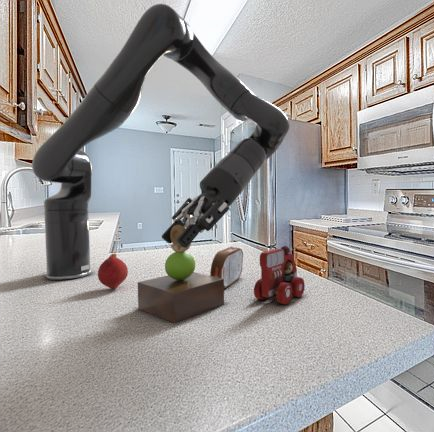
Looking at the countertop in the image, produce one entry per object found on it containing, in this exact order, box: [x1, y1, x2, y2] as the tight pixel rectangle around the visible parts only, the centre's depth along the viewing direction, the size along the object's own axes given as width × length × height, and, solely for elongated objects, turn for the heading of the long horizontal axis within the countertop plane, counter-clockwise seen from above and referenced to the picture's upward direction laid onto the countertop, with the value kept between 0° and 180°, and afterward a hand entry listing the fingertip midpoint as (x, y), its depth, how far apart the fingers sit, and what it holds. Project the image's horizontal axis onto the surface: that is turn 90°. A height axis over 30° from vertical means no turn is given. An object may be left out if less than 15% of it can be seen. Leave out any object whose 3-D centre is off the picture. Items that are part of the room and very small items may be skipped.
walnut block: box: [137, 271, 225, 324], centre depth 58 cm, size 11×11×5 cm
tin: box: [209, 246, 244, 289], centre depth 73 cm, size 15×3×8 cm, turn 169°
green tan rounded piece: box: [164, 216, 196, 280], centre depth 57 cm, size 5×6×12 cm
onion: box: [97, 252, 129, 290], centre depth 69 cm, size 6×6×8 cm
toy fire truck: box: [253, 245, 306, 305], centre depth 63 cm, size 7×12×10 cm, turn 149°
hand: (172, 242), depth 56 cm, fingers closed on green tan rounded piece, 6 cm apart
